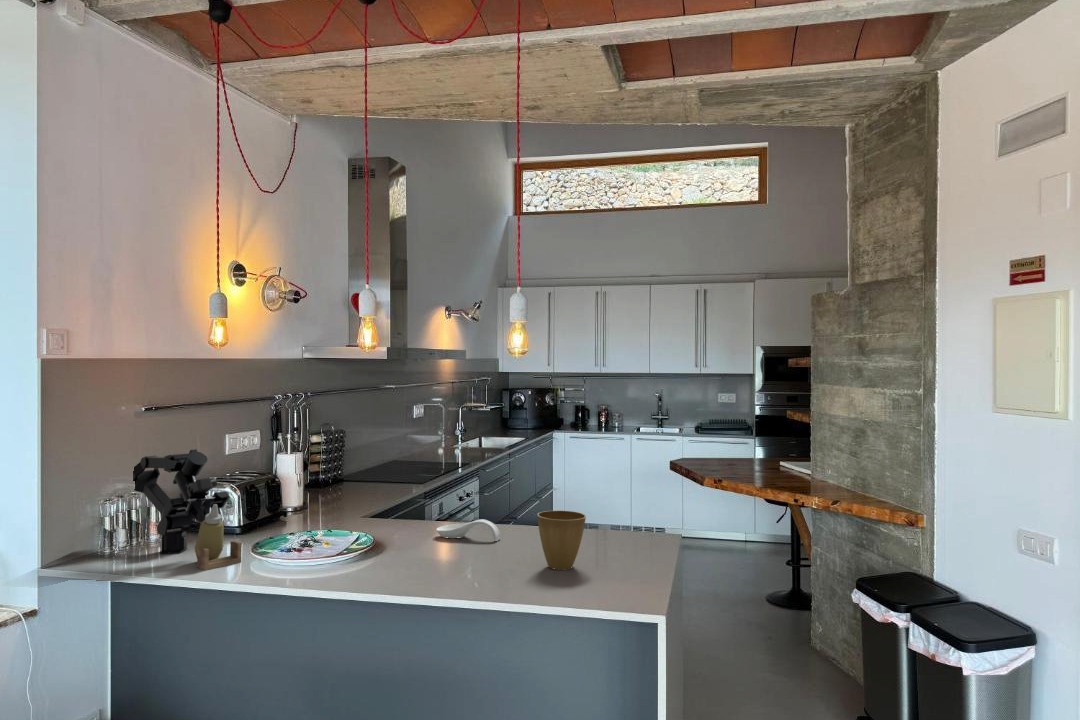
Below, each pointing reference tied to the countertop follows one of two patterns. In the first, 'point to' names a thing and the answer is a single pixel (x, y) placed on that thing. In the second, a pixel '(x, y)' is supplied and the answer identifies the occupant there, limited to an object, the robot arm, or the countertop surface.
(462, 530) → the spoon rest
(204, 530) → the squeeze bottle
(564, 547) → the plant pot
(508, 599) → the countertop surface
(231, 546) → the u rest
